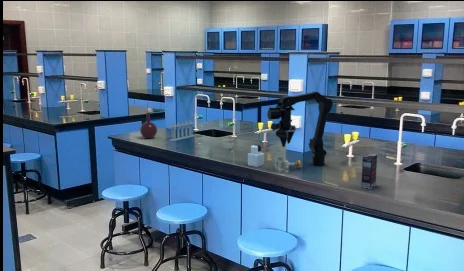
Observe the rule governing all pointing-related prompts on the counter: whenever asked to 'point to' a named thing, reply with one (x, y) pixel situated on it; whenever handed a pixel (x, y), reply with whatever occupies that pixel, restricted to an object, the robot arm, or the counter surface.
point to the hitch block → (281, 165)
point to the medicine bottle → (255, 156)
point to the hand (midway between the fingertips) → (286, 145)
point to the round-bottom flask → (148, 128)
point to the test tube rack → (181, 131)
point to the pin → (296, 164)
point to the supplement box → (369, 170)
